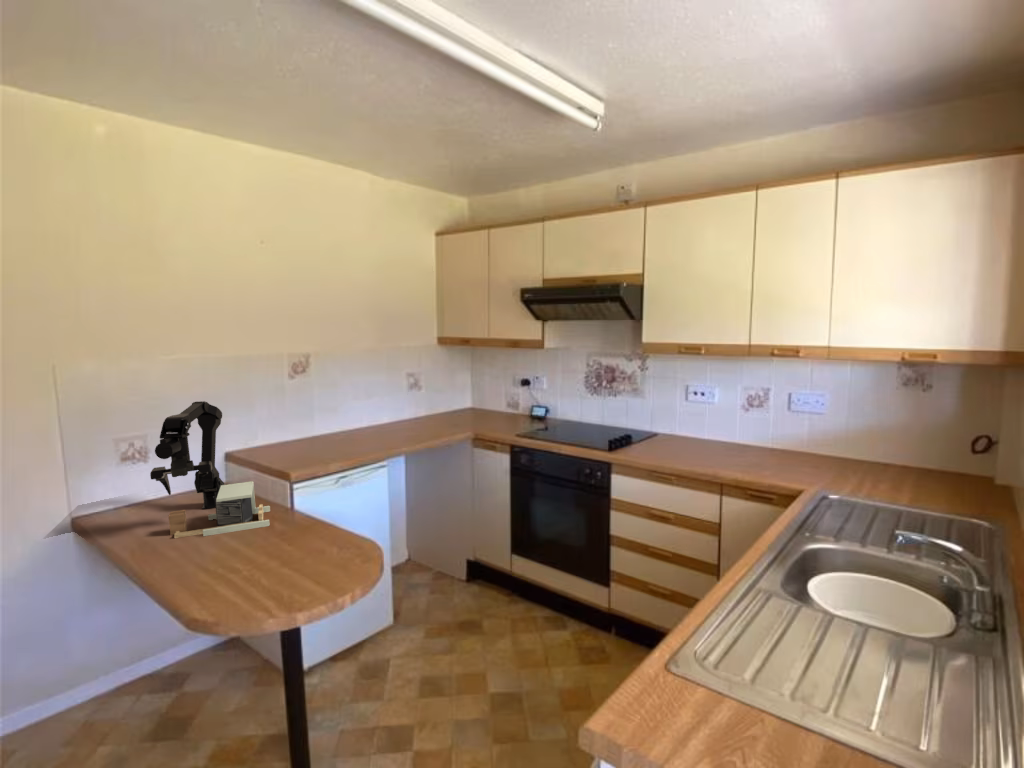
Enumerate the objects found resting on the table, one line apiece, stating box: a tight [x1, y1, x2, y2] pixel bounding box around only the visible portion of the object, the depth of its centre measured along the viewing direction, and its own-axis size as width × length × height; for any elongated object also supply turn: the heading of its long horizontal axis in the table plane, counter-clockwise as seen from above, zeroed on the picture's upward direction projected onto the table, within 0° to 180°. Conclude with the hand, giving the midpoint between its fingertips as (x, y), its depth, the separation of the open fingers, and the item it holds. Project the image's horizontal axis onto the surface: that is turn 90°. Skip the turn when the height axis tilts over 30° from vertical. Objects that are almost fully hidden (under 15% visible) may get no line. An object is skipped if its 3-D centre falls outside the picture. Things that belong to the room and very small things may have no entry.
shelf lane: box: [202, 480, 271, 537], centre depth 200 cm, size 17×21×12 cm
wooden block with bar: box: [168, 503, 265, 539], centre depth 198 cm, size 12×29×7 cm, turn 113°
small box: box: [215, 497, 254, 527], centre depth 200 cm, size 11×6×10 cm, turn 85°
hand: (184, 492), depth 199 cm, fingers open, 9 cm apart
